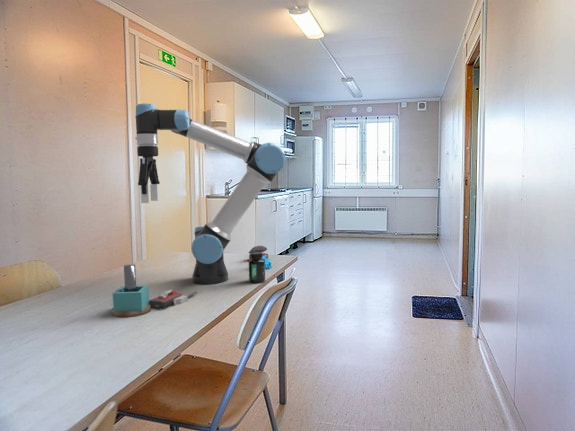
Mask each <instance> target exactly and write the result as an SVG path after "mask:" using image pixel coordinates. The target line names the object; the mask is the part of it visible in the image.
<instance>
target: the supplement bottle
mask: <svg viewBox="0 0 575 431" xmlns="http://www.w3.org/2000/svg"><path fill="white" fill-rule="evenodd" d="M262 253H263V252H253V253H251V259H250V260H249V261H248V281H249V282H250V284H261V283H264V282H265V283H266V268H265V261H264V259H262V257H263V256H262Z"/></svg>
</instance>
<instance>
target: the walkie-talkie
mask: <svg viewBox="0 0 575 431" xmlns="http://www.w3.org/2000/svg"><path fill="white" fill-rule="evenodd" d="M196 294H198V292H197V291H194V292H192V293H190V294H188V295H183V294H182V292H181V293H180V292H176V290H175V289H168V290H166V291H163V292H162V294H158V295H157V297H155V298H153V299H149V304H150V305H151V309H156V310H165V309H168V308H169V307H172V306H178V305H181V304H184V303H186V302H188V299H189V298H192V297H193V296H194V295H196Z"/></svg>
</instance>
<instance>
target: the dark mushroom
mask: <svg viewBox="0 0 575 431" xmlns="http://www.w3.org/2000/svg"><path fill="white" fill-rule="evenodd" d="M267 250H268V248H267V247H266V246H265V245H257V246H253V247H252V248H251V249H250V250H249V251H248V254H249V256H248V258H249V260H250V259H251V253H253V252H261V253H262V254H263V255H262V256H264V255H266V256H267V257H266V258H267V259H268V258H269V253H265V252H267Z"/></svg>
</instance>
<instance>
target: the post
mask: <svg viewBox="0 0 575 431" xmlns="http://www.w3.org/2000/svg"><path fill="white" fill-rule="evenodd" d="M123 278H124V286H125V292H137V289H136V286H137V271H136V264H132V263H131V264H125V265H123Z"/></svg>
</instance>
